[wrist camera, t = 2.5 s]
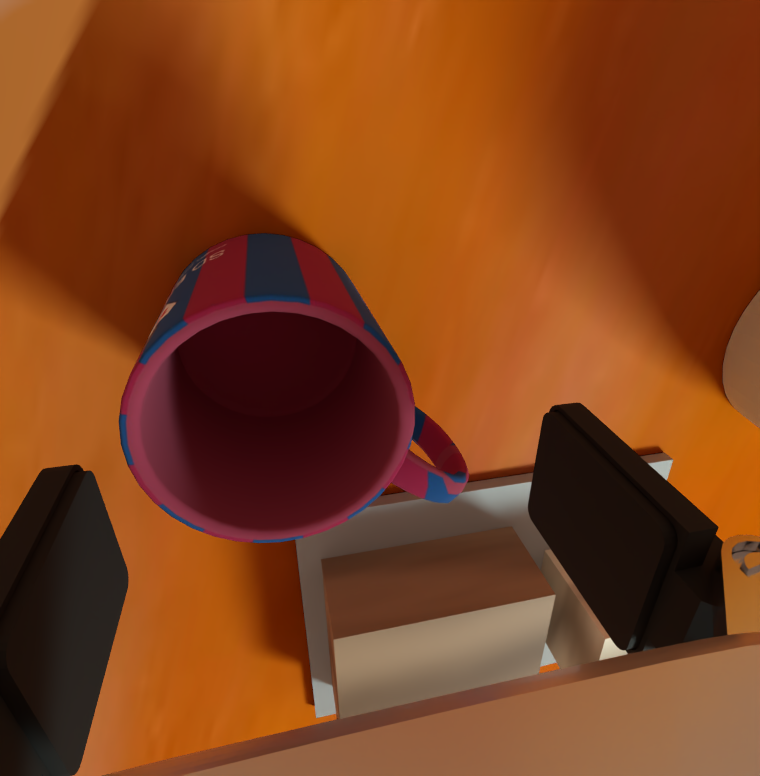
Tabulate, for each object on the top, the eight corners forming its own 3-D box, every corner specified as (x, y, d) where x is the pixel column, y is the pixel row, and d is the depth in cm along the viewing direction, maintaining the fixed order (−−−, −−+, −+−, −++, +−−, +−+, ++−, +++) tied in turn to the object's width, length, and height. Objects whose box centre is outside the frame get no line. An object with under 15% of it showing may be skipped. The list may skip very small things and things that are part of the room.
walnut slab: (493, 650, 28) (527, 723, 25) (332, 685, 26) (344, 770, 23) (511, 526, 24) (555, 594, 20) (321, 559, 22) (333, 639, 19)
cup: (239, 186, 15) (230, 225, 10) (462, 357, 20) (550, 455, 14) (127, 354, 17) (59, 476, 11) (357, 477, 21) (396, 611, 16)
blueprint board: (607, 640, 31) (613, 649, 31) (315, 706, 28) (316, 718, 27) (664, 452, 25) (673, 459, 24) (291, 509, 21) (292, 519, 21)
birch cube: (614, 601, 28) (678, 686, 24) (531, 618, 27) (584, 710, 23) (633, 533, 26) (709, 615, 22) (544, 550, 25) (605, 639, 21)
